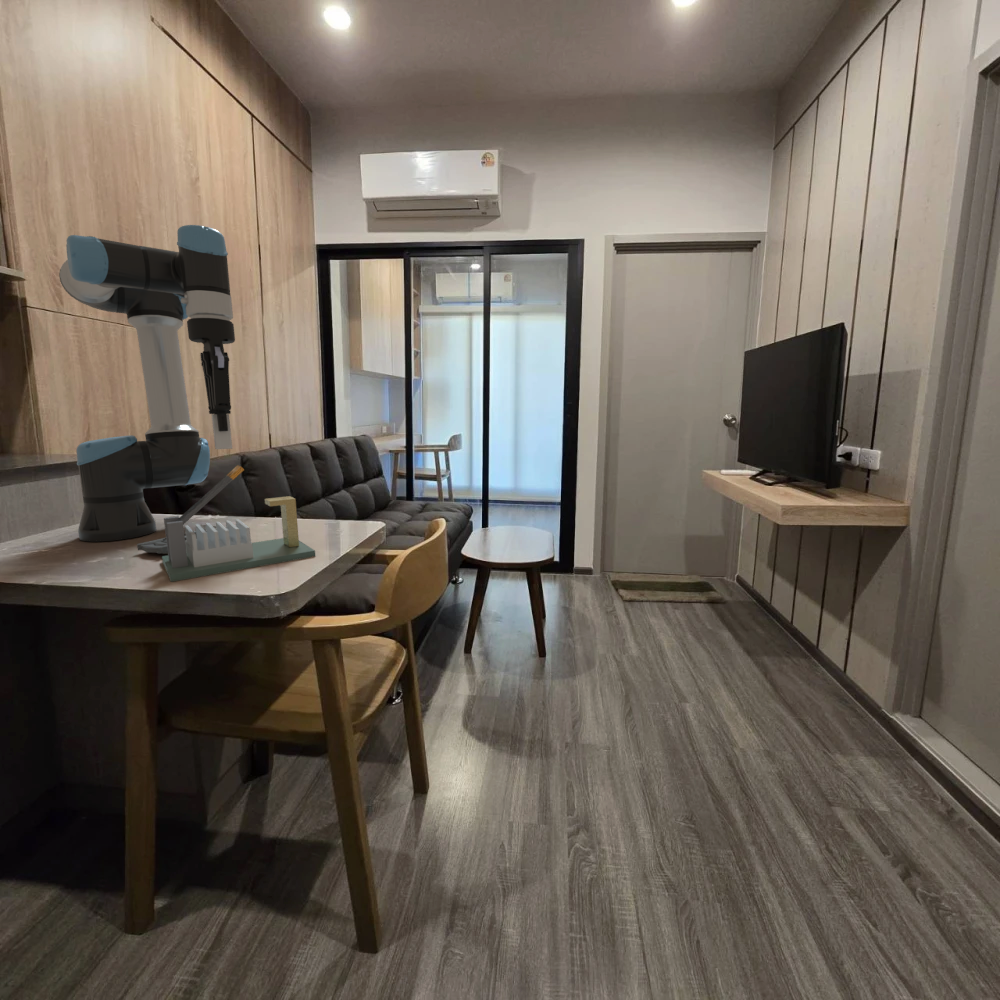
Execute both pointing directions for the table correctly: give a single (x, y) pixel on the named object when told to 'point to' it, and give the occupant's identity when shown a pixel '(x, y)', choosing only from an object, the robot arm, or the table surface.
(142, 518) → the robot arm
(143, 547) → the graphics card
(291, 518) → the block
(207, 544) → the board
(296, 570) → the table surface
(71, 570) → the table surface
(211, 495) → the strap
